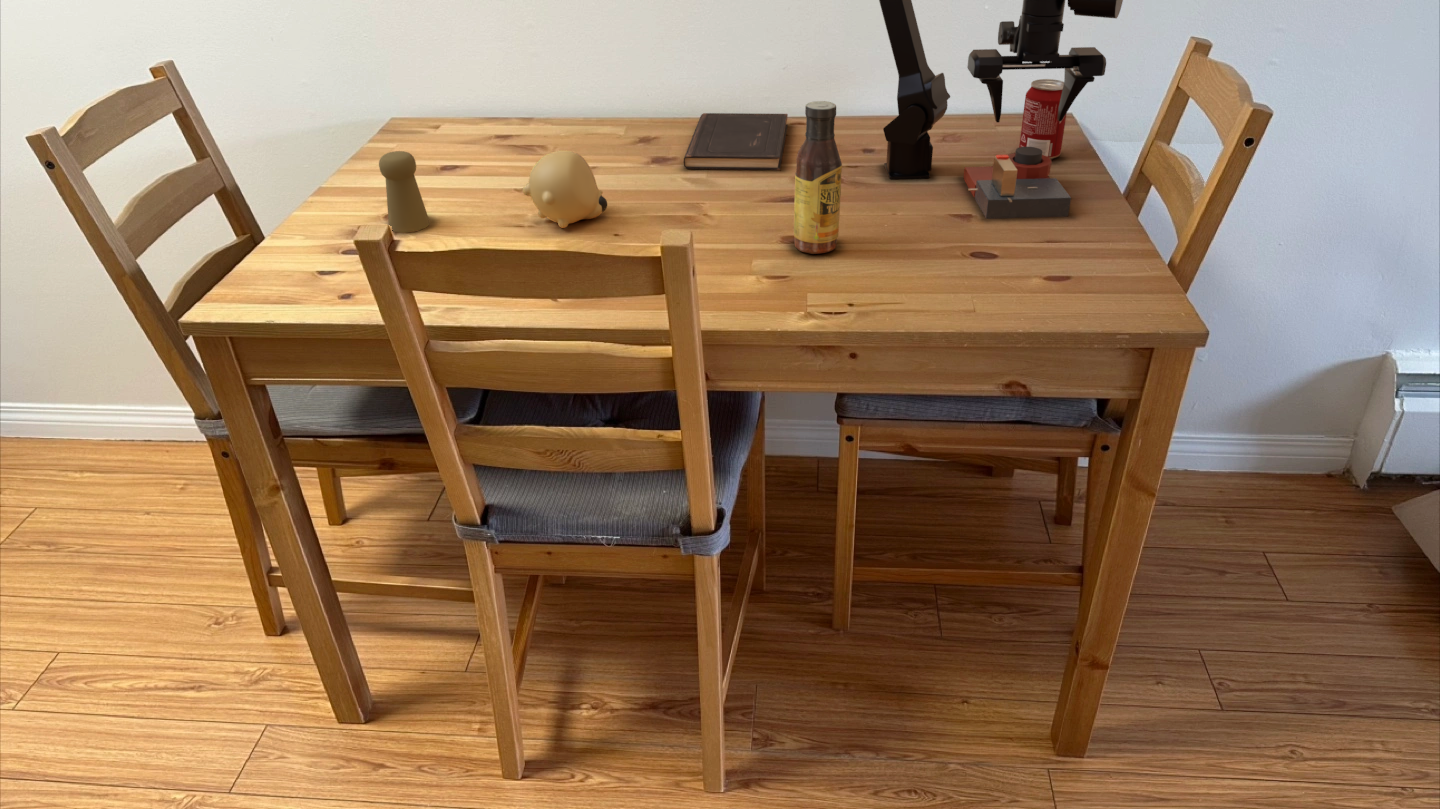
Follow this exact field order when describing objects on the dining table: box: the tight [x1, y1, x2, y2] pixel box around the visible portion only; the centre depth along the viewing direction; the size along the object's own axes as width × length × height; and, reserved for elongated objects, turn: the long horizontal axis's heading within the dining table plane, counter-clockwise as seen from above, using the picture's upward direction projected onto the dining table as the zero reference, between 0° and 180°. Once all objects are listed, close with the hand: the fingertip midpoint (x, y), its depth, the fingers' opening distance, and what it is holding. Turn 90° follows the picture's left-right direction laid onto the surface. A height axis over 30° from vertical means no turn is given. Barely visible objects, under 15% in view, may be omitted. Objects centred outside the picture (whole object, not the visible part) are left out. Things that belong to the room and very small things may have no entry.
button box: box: [962, 152, 1053, 198], centre depth 164 cm, size 12×8×4 cm
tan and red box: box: [992, 154, 1017, 196], centre depth 155 cm, size 6×2×4 cm, turn 0°
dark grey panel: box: [967, 177, 1072, 220], centre depth 157 cm, size 14×10×3 cm
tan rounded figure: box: [522, 149, 608, 229], centre depth 156 cm, size 10×12×11 cm
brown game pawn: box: [378, 150, 431, 234], centre depth 156 cm, size 6×6×11 cm
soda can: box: [1018, 78, 1068, 161], centre depth 173 cm, size 7×7×12 cm
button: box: [1014, 147, 1042, 165], centre depth 164 cm, size 4×4×2 cm
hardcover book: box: [682, 112, 789, 171], centre depth 184 cm, size 16×23×2 cm
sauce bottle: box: [793, 100, 843, 255], centre depth 143 cm, size 7×6×20 cm
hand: (1028, 121), depth 158 cm, fingers open, 9 cm apart
